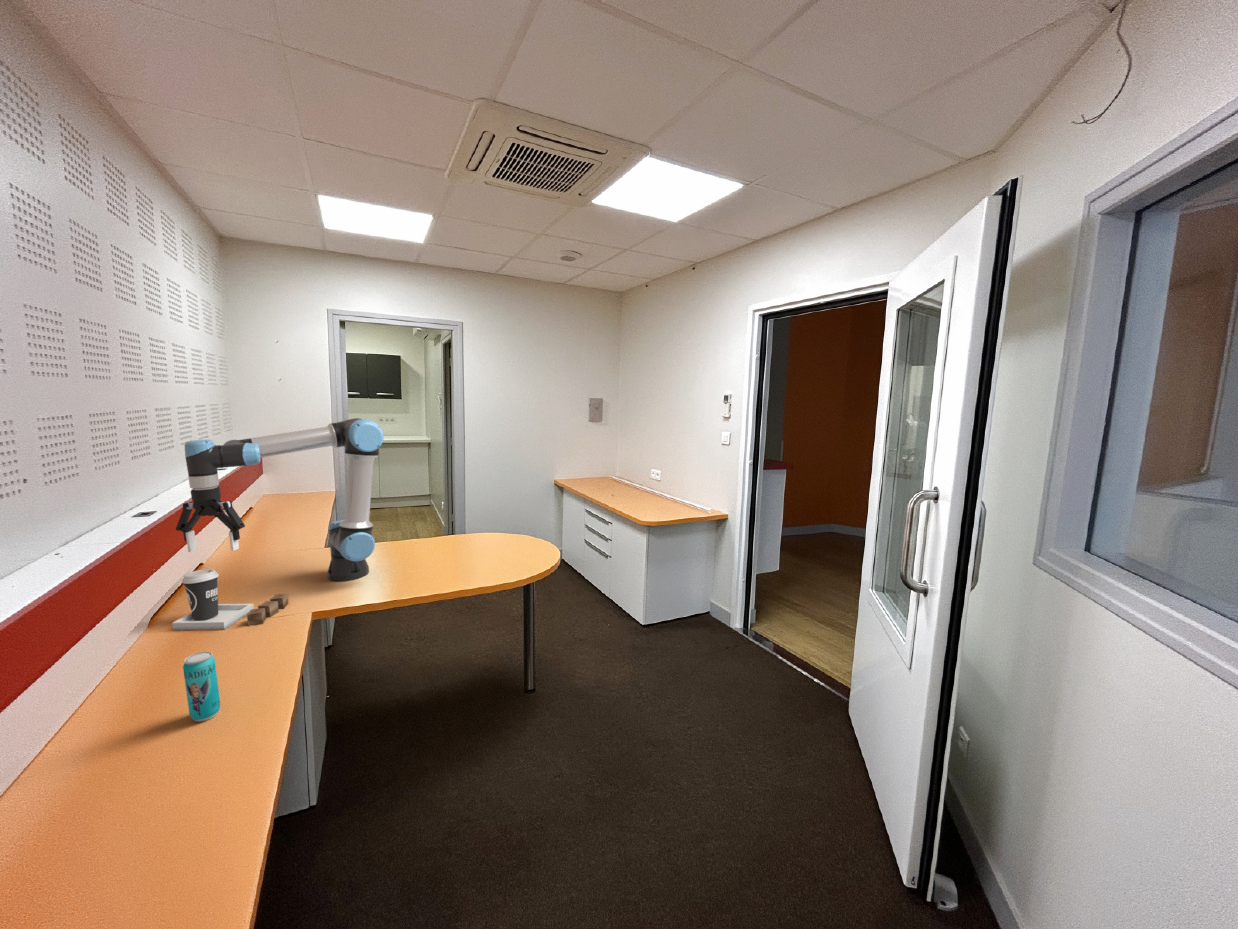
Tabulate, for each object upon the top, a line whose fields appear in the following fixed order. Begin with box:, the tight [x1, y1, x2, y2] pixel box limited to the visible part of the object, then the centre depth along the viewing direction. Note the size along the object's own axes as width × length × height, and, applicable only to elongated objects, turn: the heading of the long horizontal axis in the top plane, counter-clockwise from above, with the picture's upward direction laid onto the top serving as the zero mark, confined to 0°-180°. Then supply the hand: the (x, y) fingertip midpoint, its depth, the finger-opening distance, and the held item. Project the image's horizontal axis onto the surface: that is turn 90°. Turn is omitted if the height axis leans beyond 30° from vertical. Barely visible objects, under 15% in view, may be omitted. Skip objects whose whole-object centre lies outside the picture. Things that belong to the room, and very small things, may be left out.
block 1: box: [246, 608, 267, 627], centre depth 170 cm, size 4×4×4 cm
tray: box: [171, 603, 255, 631], centre depth 171 cm, size 16×14×2 cm
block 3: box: [269, 593, 290, 610], centre depth 181 cm, size 4×4×4 cm
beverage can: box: [182, 651, 221, 723], centre depth 121 cm, size 6×6×15 cm
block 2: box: [257, 600, 280, 618], centre depth 176 cm, size 4×4×4 cm
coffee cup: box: [181, 568, 220, 620], centre depth 171 cm, size 10×10×15 cm
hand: (213, 550), depth 172 cm, fingers open, 13 cm apart
